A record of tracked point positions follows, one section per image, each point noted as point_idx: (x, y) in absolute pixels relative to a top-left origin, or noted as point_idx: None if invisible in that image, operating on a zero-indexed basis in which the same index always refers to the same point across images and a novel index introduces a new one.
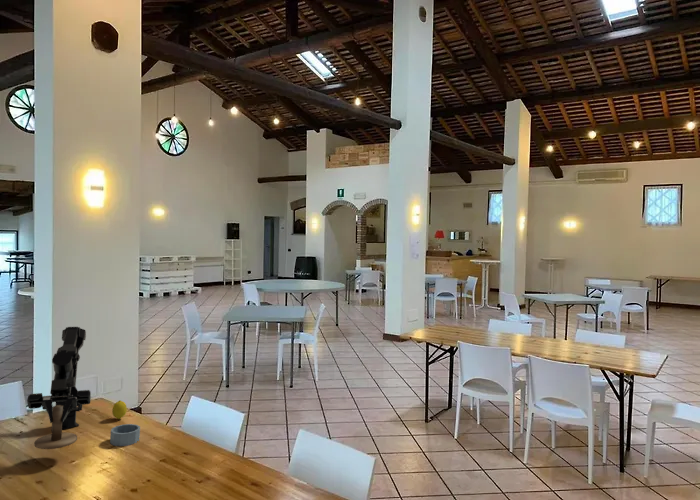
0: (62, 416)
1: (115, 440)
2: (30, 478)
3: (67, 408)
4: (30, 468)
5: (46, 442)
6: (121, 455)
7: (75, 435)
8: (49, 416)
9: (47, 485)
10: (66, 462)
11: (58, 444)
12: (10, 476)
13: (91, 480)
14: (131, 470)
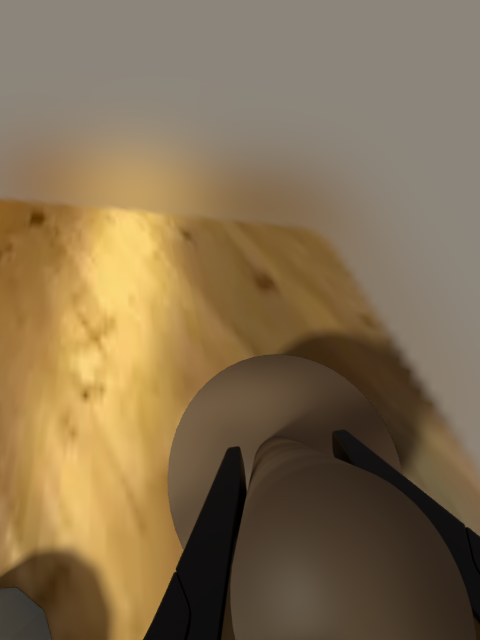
0: (237, 479)
1: (11, 623)
2: (300, 306)
3: (165, 625)
4: None
5: (318, 418)
6: (29, 453)
7: (181, 524)
8: (391, 468)
9: (236, 260)
10: None
11: (243, 377)
12: (372, 328)
13: (129, 272)
14: (22, 317)
